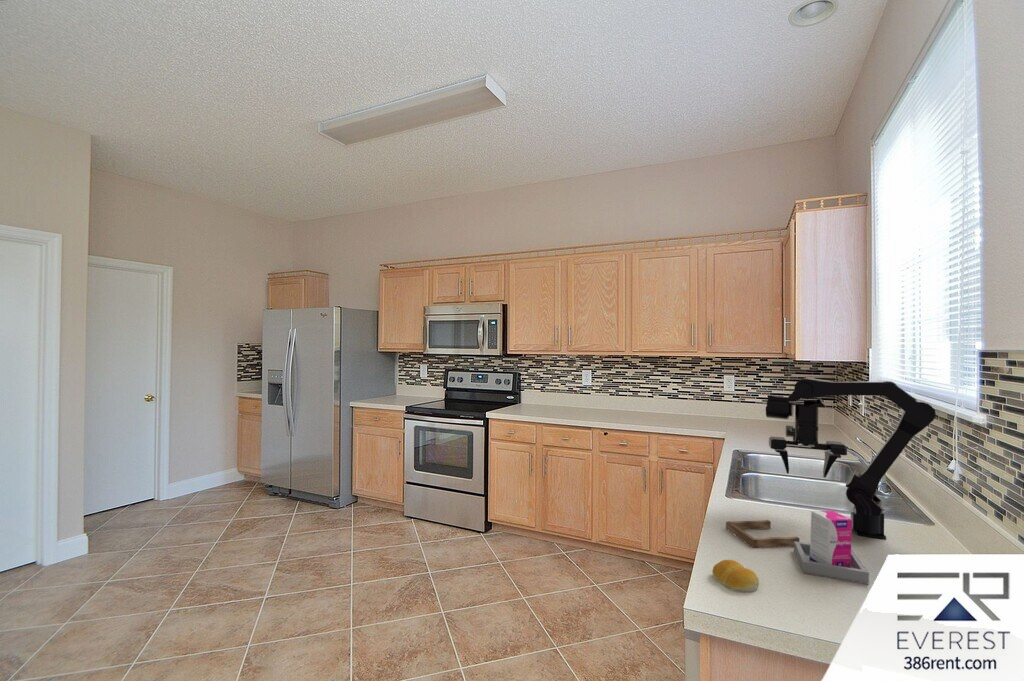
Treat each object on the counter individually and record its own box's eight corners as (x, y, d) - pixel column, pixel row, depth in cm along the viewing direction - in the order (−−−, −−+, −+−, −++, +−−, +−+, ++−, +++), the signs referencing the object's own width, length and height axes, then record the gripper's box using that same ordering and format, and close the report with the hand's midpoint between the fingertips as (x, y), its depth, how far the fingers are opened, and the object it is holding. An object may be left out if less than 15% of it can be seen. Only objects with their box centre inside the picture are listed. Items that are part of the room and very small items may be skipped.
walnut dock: (768, 527, 131) (768, 520, 131) (799, 546, 119) (799, 538, 119) (725, 528, 130) (725, 521, 130) (753, 547, 118) (753, 539, 118)
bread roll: (738, 597, 95) (738, 577, 95) (705, 576, 104) (706, 558, 104) (769, 590, 98) (769, 570, 98) (734, 570, 106) (735, 552, 106)
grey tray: (852, 560, 112) (852, 550, 112) (868, 584, 100) (868, 572, 101) (794, 551, 116) (794, 541, 116) (803, 573, 105) (803, 561, 105)
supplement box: (828, 571, 105) (829, 519, 105) (808, 559, 111) (809, 510, 111) (852, 570, 106) (852, 519, 106) (831, 558, 112) (831, 509, 112)
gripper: (837, 419, 141) (836, 472, 141) (766, 415, 148) (766, 465, 148) (847, 425, 131) (847, 482, 131) (771, 420, 138) (770, 474, 138)
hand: (805, 475), depth 137 cm, fingers open, 9 cm apart
